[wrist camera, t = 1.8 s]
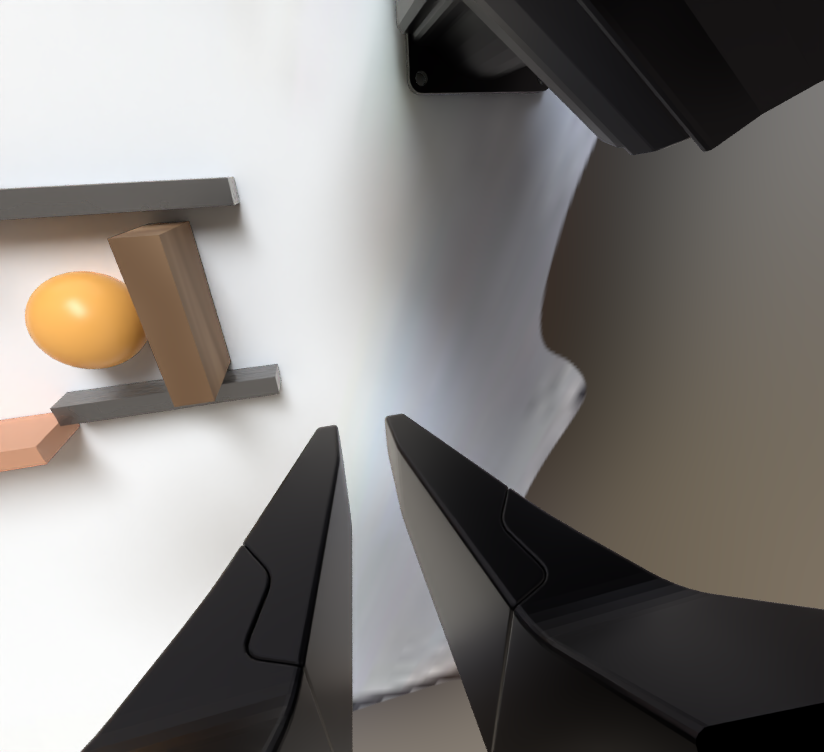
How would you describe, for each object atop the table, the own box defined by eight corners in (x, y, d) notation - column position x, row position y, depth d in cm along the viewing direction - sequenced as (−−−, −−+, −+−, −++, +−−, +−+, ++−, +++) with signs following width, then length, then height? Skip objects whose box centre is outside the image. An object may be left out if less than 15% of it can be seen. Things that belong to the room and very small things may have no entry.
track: (233, 176, 17) (227, 177, 15) (281, 380, 22) (279, 393, 20) (-43, 190, 15) (-76, 193, 14) (76, 409, 20) (60, 426, 18)
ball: (144, 257, 17) (104, 280, 14) (174, 340, 19) (145, 378, 16) (41, 266, 17) (-28, 292, 13) (83, 351, 19) (32, 393, 15)
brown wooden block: (189, 221, 17) (158, 235, 14) (230, 361, 20) (215, 401, 17) (148, 223, 17) (107, 238, 13) (197, 365, 20) (174, 407, 16)
